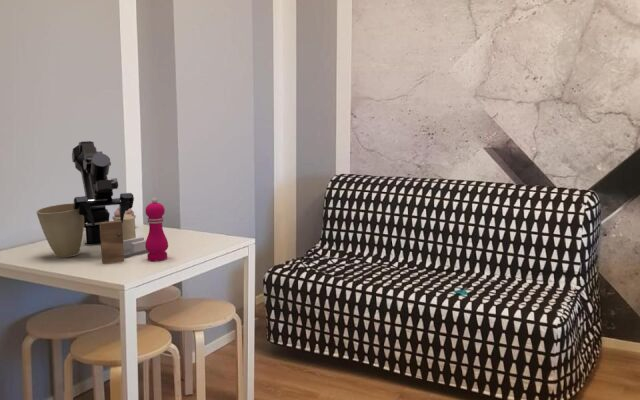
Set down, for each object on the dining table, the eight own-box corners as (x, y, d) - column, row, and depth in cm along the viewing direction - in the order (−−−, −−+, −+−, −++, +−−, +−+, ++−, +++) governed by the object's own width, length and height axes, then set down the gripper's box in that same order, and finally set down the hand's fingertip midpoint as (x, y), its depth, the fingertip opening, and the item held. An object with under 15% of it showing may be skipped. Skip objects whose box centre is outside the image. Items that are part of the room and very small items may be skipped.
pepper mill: (157, 262, 217) (154, 200, 214) (141, 259, 221) (137, 198, 218) (173, 257, 223) (170, 197, 220) (157, 255, 227) (154, 195, 224)
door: (101, 262, 219) (99, 222, 216) (122, 259, 221) (120, 220, 219) (103, 264, 215) (101, 224, 213) (124, 262, 218) (122, 222, 216)
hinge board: (108, 255, 228) (107, 243, 227) (151, 245, 242) (151, 234, 241) (123, 258, 223) (122, 246, 222) (166, 248, 237) (166, 237, 236)
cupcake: (141, 227, 275) (140, 202, 273) (124, 231, 267) (123, 206, 265) (125, 225, 280) (123, 201, 278) (107, 229, 272) (106, 204, 270)
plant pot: (93, 246, 237) (87, 201, 234) (86, 258, 223) (80, 210, 219) (48, 250, 235) (41, 205, 231) (38, 263, 220) (31, 215, 217)
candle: (139, 240, 251) (137, 213, 249) (129, 243, 246) (127, 215, 244) (127, 239, 253) (125, 212, 251) (117, 242, 248) (115, 214, 246)
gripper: (72, 172, 219) (79, 211, 211) (131, 168, 228) (140, 206, 220) (70, 193, 227) (77, 231, 219) (127, 189, 236) (136, 226, 228)
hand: (108, 223), depth 221 cm, fingers open, 9 cm apart
